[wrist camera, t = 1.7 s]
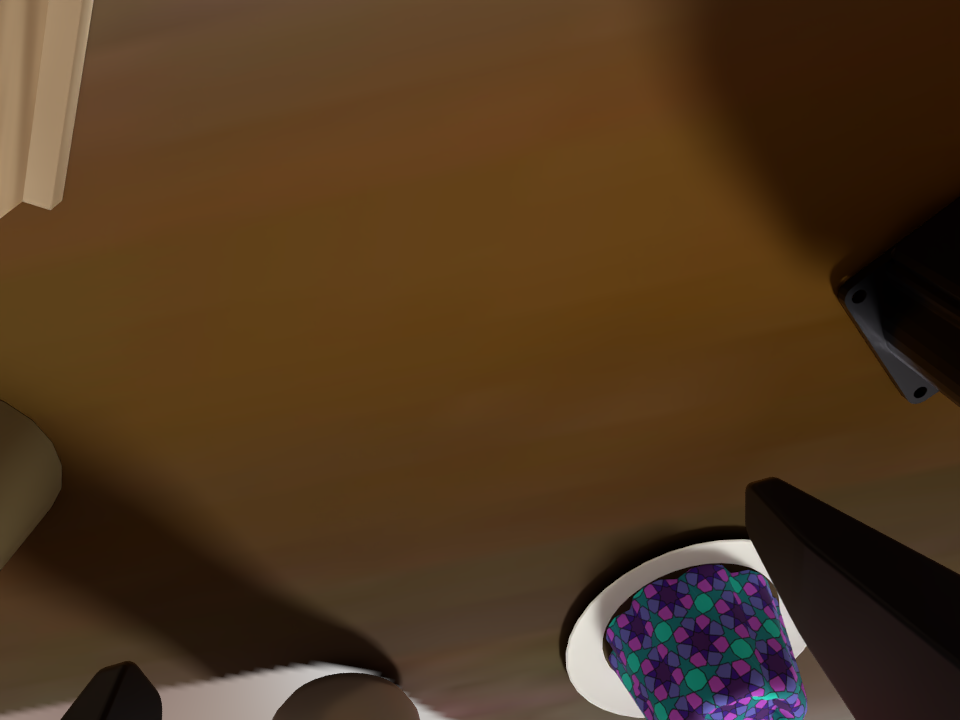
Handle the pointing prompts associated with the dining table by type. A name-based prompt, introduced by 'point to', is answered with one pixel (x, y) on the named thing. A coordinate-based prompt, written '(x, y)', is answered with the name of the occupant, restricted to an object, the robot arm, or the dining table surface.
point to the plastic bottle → (348, 700)
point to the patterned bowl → (691, 642)
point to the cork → (24, 479)
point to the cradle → (39, 96)
